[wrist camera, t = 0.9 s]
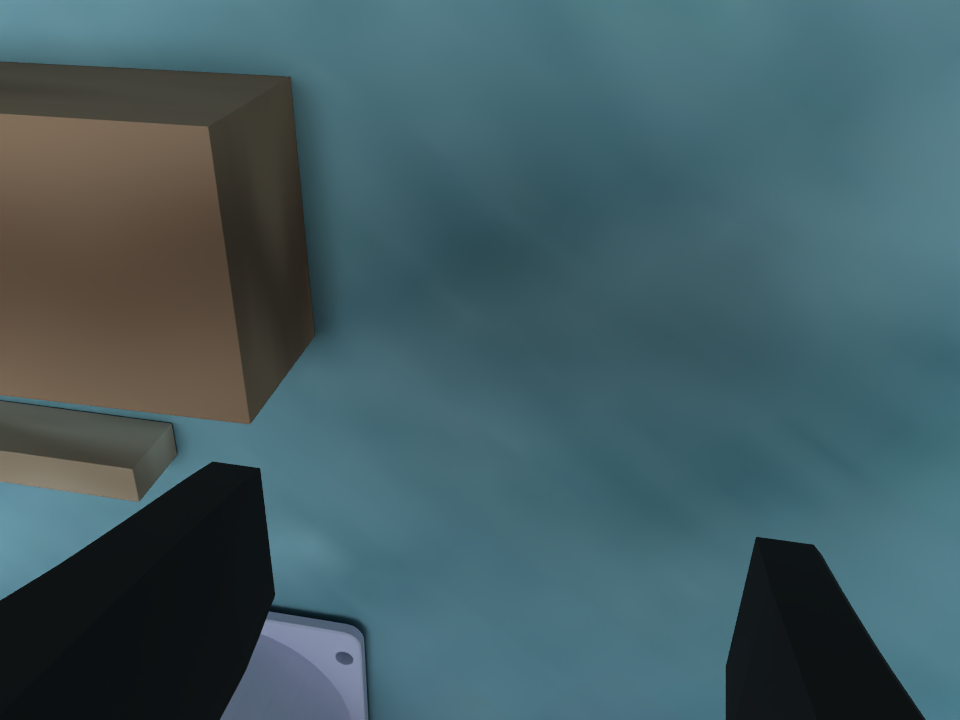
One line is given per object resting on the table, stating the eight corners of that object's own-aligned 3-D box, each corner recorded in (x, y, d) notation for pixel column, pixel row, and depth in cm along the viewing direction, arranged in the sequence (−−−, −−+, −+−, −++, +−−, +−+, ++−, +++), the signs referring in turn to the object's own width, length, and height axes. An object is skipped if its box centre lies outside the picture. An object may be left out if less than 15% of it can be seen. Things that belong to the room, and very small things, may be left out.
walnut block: (317, 332, 22) (250, 424, 18) (50, 306, 23) (-60, 387, 19) (294, 74, 19) (207, 126, 15) (-13, 58, 20) (-156, 103, 16)
